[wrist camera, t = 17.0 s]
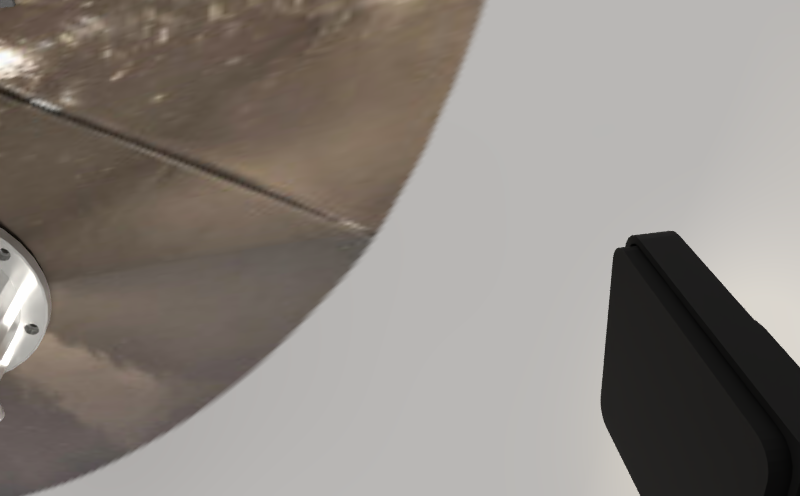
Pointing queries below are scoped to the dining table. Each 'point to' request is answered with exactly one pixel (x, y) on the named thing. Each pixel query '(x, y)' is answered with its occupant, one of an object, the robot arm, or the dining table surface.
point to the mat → (7, 3)
